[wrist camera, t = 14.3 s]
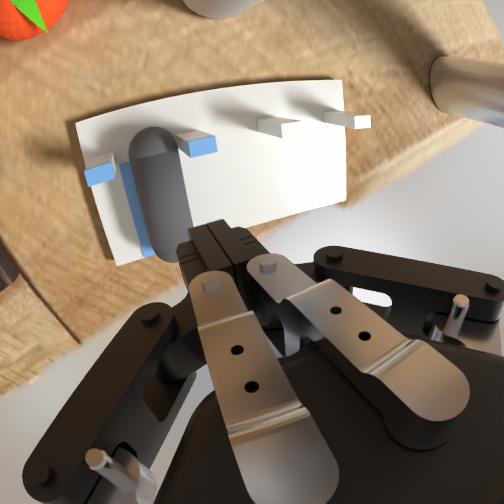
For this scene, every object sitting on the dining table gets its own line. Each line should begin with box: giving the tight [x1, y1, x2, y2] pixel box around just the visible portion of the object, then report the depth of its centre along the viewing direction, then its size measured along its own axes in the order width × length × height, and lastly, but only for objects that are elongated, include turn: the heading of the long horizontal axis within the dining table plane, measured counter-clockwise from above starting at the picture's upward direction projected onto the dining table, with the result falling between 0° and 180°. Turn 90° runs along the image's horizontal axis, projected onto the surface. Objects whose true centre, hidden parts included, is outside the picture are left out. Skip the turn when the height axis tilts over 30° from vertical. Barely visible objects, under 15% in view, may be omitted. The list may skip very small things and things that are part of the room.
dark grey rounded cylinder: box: [128, 127, 194, 263], centre depth 25 cm, size 12×4×4 cm, turn 6°
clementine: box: [0, 0, 69, 41], centre depth 13 cm, size 8×7×7 cm
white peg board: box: [75, 80, 371, 266], centre depth 26 cm, size 26×14×7 cm, turn 96°
